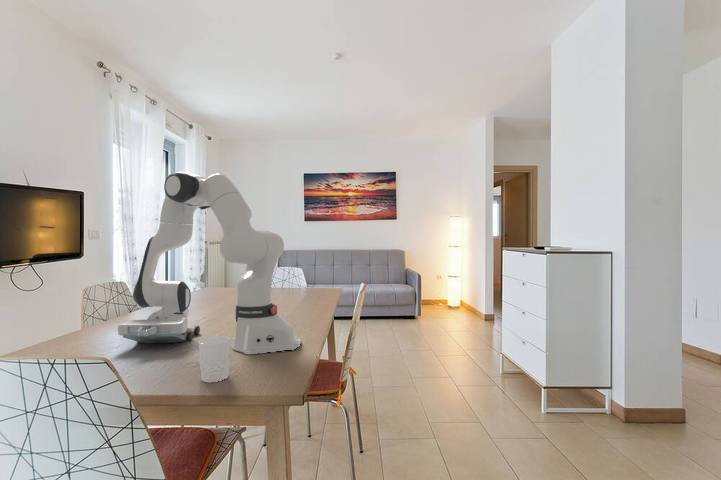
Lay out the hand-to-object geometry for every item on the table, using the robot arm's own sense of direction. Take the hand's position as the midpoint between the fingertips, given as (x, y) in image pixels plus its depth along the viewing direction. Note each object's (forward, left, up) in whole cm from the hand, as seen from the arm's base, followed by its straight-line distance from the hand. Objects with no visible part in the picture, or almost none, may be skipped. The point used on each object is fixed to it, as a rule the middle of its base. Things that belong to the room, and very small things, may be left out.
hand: (142, 333), depth 116 cm
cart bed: (0, -20, -7) cm, 21 cm away
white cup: (-28, +22, -7) cm, 36 cm away
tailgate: (0, -14, -6) cm, 15 cm away
